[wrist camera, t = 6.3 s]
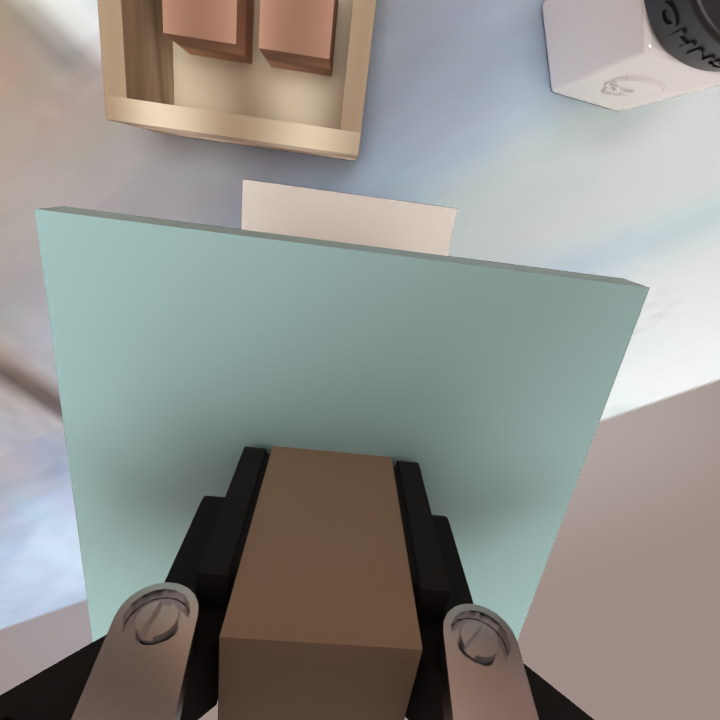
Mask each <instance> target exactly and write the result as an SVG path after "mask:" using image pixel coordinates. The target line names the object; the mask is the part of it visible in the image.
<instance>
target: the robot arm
mask: <svg viewBox="0 0 720 720" xmlns="http://www.w3.org/2000/svg"><path fill="white" fill-rule="evenodd" d="M269 457H270V454H267V450H266V448H257V447H246V446H245V447H244V449H243V452H242V454H241V457H240V459H239V462H238V465H237V467H236V470H235V472H234V475H233V478H232V480H231V483H230V485H229V488H228V491H227V493H226V496H225V497H217V496H204V497H203V499H202V501H201V503H200V505H199V507H198V509H197V511H196V514H195V516H194V518H193V520H192V522H191V525H190V527H189V529H188V531H187V533H186V536H185V538H184V540H183V542H182V544H181V547H180V549H179V551H178V553H177V555H176V558H175V560H174V562H173V564H172V566H171V569H170V571H169V573H168V575H167V577H166V580H165V582H164V583H158V584H153V585H151V586H148V587H145V588H142V589H141V590H139V591H138V592H136V593H134V594H133V595H131V596H130V597H129V598H128V599H127V600H126V601H125V602H124V603H123V604H122V605H121V606H120V608H119V610H118V611H117V613H116V615H115V616H114V619H113V621H112V623H111V626H110V628H109V630H108V633H107V634H106V635H105V636H103V637H101V638H99V639H98V640H96V641H94V642H92V643H91V644H89V645H87V646H86V647H84V648H82V649H80V650H79V651H77V652H75V653H74V654H72V655H70V656H68V657H66V658H65V659H63V660H61V661H59V662H58V663H56V664H54V665H53V666H51V667H49V668H47V669H46V670H44V671H42V672H40V673H39V674H37V675H35V676H33V677H32V678H30V679H28V680H26V681H25V682H23V683H21V684H20V685H18V686H16V687H14V688H13V689H11V690H9V691H8V692H6V693H4V694H2V695H0V720H199V718H201V717H202V716H203V715H204V714H205V713H207V712H208V711H209V710H210V709H212V708H213V707H214V706H215V705H216V704H217V700H218V690H219V637H220V633H221V630H222V626H223V622H224V619H225V615H226V612H227V608H228V604H229V601H230V597H231V594H232V590H233V586H234V583H235V579H236V576H237V572H238V569H239V565H240V561H241V558H242V554H243V551H244V547H245V543H246V540H247V536H248V533H249V529H250V526H251V522H252V518H253V515H254V511H255V508H256V504H257V500H258V497H259V493H260V490H261V486H262V482H263V479H264V475H265V472H266V468H267V465H268V461H269ZM393 470H394V476H395V482H396V488H397V494H398V501H399V507H400V513H401V519H402V525H403V532H404V538H405V544H406V550H407V556H408V562H409V569H410V575H411V581H412V587H413V593H414V600H415V606H416V612H417V618H418V624H419V630H420V637H421V643H422V649H423V650H422V654H421V658H420V661H419V665H418V669H417V673H416V676H415V680H414V684H413V688H412V691H411V695H410V699H409V703H408V707H407V710H406V714H405V717H406V718H407V719H408V720H594V719H592V718H591V717H590V716H589V715H587V714H586V713H585V712H584V711H582V710H581V709H580V708H579V707H577V706H576V705H575V704H574V703H572V702H571V701H570V700H569V699H567V698H566V697H565V696H564V695H562V694H561V693H560V692H559V691H557V690H556V689H555V688H554V687H552V686H551V685H550V684H549V683H547V682H546V681H545V680H544V679H542V678H541V677H540V676H539V675H537V674H536V673H535V672H533V671H532V670H531V669H530V668H529V667H527V666H526V665H525V664H524V663H523V660H522V657H521V653H520V650H519V646H518V642H517V640H516V637H515V635H514V633H513V631H512V629H511V628H510V627H509V625H508V624H507V623H506V621H504V620H503V619H502V618H501V617H500V616H499V615H498V614H496V613H495V612H493V611H491V610H489V609H488V608H486V607H483V606H480V605H476V604H474V603H473V600H472V597H471V593H470V590H469V587H468V583H467V580H466V577H465V573H464V570H463V567H462V563H461V560H460V557H459V553H458V550H457V547H456V543H455V540H454V536H453V533H452V530H451V526H450V523H449V521H448V518H447V517H446V516H440V515H432V513H431V509H430V505H429V501H428V497H427V493H426V490H425V486H424V482H423V478H422V474H421V470H420V466H419V463H417V462H406V461H397V463H396V466H393Z"/></svg>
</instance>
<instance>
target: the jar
mask: <svg viewBox="0 0 720 720" xmlns="http://www.w3.org/2000/svg"><path fill="white" fill-rule="evenodd" d="M542 9H543V18H544V27H545V35H546V44H547V53H548V62H549V70H550V79H551V88H552V91H553V92H555V93H558V94H562V95H565V96H568V97H572V98H575V99H579V100H582V101H585V102H589V103H592V104H595V105H599V106H602V107H606V108H609V109H612V110H616V111H621V110H625V109H629V108H633V107H637V106H641V105H645V104H649V103H653V102H657V101H661V100H664V99H668V98H672V97H676V96H680V95H684V94H688V93H692V92H696V91H700V90H704V89H708V88H712V87H715V86H719V85H720V0H545V1H544V3H543V6H542Z"/></svg>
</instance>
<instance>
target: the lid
mask: <svg viewBox="0 0 720 720" xmlns="http://www.w3.org/2000/svg"><path fill="white" fill-rule="evenodd" d="M35 215H36V223H37V230H38V238H39V245H40V252H41V260H42V267H43V275H44V282H45V290H46V297H47V305H48V312H49V319H50V327H51V334H52V342H53V349H54V357H55V364H56V371H57V379H58V386H59V394H60V401H61V409H62V416H63V423H64V431H65V438H66V446H67V453H68V461H69V468H70V475H71V483H72V490H73V498H74V505H75V513H76V520H77V527H78V535H79V542H80V550H81V557H82V565H83V572H84V579H85V587H86V594H87V602H88V609H89V617H90V624H91V631H92V639H93V642H94V641H96V640H98V639H99V638H101V637H103V636H105V635H106V634H107V633H108V630H109V628H110V626H111V623H112V621H113V619H114V616H115V615H116V613H117V611H118V610H119V608H120V606H121V605H122V604H123V603H124V602H125V601H126V600H127V599H128V598H129V597H130V596H131V595H133V594H134V593H136V592H138V591H139V590H141V589H142V588H145V587H148V586H151V585H153V584H158V583H164V582H165V580H166V577H167V575H168V573H169V571H170V569H171V566H172V564H173V562H174V560H175V558H176V555H177V553H178V551H179V549H180V547H181V544H182V542H183V540H184V538H185V536H186V533H187V531H188V529H189V527H190V525H191V522H192V520H193V518H194V516H195V514H196V511H197V509H198V507H199V505H200V503H201V501H202V499H203V497H204V496H217V497H225V496H226V493H227V491H228V488H229V485H230V483H231V480H232V478H233V475H234V472H235V470H236V467H237V465H238V462H239V459H240V457H241V454H242V452H243V449H244V447H245V446H246V447H257V448H266V450H267V454H270V457H269V461H268V465H267V468H266V472H265V475H264V479H263V482H262V486H261V490H260V493H259V497H258V500H257V504H256V508H255V511H254V515H253V518H252V522H251V526H250V529H249V533H248V536H247V540H246V543H245V547H244V551H243V554H242V558H241V561H240V565H239V569H238V572H237V576H236V579H235V583H234V586H233V590H232V594H231V597H230V601H229V604H228V608H227V612H226V615H225V619H224V622H223V626H222V630H221V633H220V637H219V690H218V720H404V718H405V714H406V710H407V707H408V703H409V699H410V695H411V691H412V688H413V684H414V680H415V676H416V673H417V669H418V665H419V661H420V658H421V654H422V650H423V649H422V643H421V637H420V630H419V624H418V618H417V612H416V606H415V600H414V593H413V587H412V581H411V575H410V569H409V562H408V556H407V550H406V544H405V538H404V532H403V525H402V519H401V513H400V507H399V501H398V494H397V488H396V482H395V476H394V470H393V466H396V463H397V461H406V462H417V463H419V466H420V470H421V474H422V478H423V482H424V486H425V490H426V493H427V497H428V501H429V505H430V509H431V513H432V515H440V516H446V517H447V518H448V521H449V523H450V526H451V530H452V533H453V536H454V540H455V543H456V547H457V550H458V553H459V557H460V560H461V563H462V567H463V570H464V573H465V577H466V580H467V583H468V587H469V590H470V593H471V597H472V600H473V603H474V604H476V605H480V606H483V607H486V608H488V609H489V610H491V611H493V612H495V613H496V614H498V615H499V616H500V617H501V618H502V619H503V620H504V621H506V623H507V624H508V625H509V627H510V628H511V629H512V631H513V633H514V635H515V637H516V640H517V639H518V637H519V634H520V631H521V628H522V626H523V623H524V621H525V618H526V615H527V613H528V610H529V608H530V605H531V602H532V600H533V597H534V594H535V592H536V589H537V586H538V584H539V581H540V578H541V576H542V573H543V570H544V567H545V565H546V562H547V559H548V557H549V554H550V552H551V549H552V546H553V544H554V541H555V538H556V535H557V533H558V530H559V527H560V525H561V522H562V520H563V517H564V514H565V512H566V509H567V506H568V504H569V501H570V498H571V496H572V493H573V490H574V488H575V485H576V482H577V480H578V477H579V474H580V472H581V469H582V466H583V464H584V461H585V458H586V456H587V453H588V450H589V447H590V445H591V442H592V440H593V437H594V434H595V432H596V429H597V426H598V424H599V421H600V418H601V416H602V413H603V410H604V408H605V405H606V403H607V400H608V397H609V395H610V392H611V389H612V387H613V384H614V381H615V379H616V376H617V373H618V371H619V368H620V365H621V363H622V360H623V357H624V355H625V352H626V349H627V347H628V344H629V341H630V339H631V336H632V333H633V331H634V328H635V325H636V323H637V320H638V317H639V315H640V312H641V309H642V307H643V304H644V301H645V299H646V296H647V293H648V291H649V288H648V287H645V286H643V285H640V284H637V283H634V282H631V281H629V280H626V279H622V278H614V277H607V276H599V275H591V274H583V273H576V272H568V271H560V270H552V269H545V268H537V267H529V266H521V265H514V264H506V263H498V262H490V261H483V260H475V259H467V258H460V257H452V256H444V255H436V254H429V253H421V252H413V251H405V250H398V249H390V248H382V247H374V246H367V245H359V244H351V243H343V242H336V241H328V240H320V239H313V238H305V237H297V236H289V235H282V234H274V233H266V232H258V231H251V230H243V229H235V228H227V227H220V226H212V225H204V224H196V223H189V222H181V221H173V220H165V219H158V218H150V217H142V216H135V215H127V214H119V213H111V212H104V211H96V210H88V209H80V208H73V207H65V206H63V207H52V208H41V209H35Z"/></svg>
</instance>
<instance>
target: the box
mask: <svg viewBox="0 0 720 720" xmlns="http://www.w3.org/2000/svg"><path fill="white" fill-rule="evenodd" d="M97 1H98V14H99V28H100V42H101V55H102V69H103V82H104V96H105V110H106V119H108V120H112V121H116V122H120V123H124V124H128V125H131V126H135V127H139V128H143V129H147V130H151V131H155V132H159V133H163V134H170V135H177V136H184V137H191V138H198V139H205V140H212V141H219V142H226V143H233V144H240V145H247V146H254V147H261V148H268V149H275V150H282V151H289V152H296V153H303V154H310V155H317V156H324V157H331V158H338V159H345V160H352V161H356V159H357V157H358V153H359V145H360V136H361V127H362V119H363V110H364V102H365V93H366V85H367V76H368V67H369V59H370V50H371V42H372V33H373V24H374V16H375V7H376V0H97Z"/></svg>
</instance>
